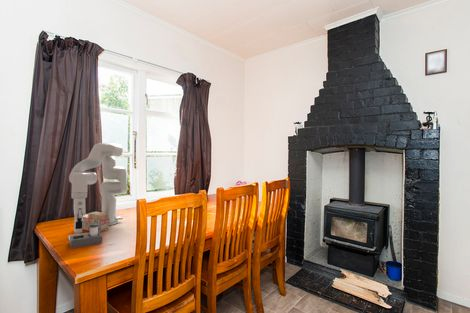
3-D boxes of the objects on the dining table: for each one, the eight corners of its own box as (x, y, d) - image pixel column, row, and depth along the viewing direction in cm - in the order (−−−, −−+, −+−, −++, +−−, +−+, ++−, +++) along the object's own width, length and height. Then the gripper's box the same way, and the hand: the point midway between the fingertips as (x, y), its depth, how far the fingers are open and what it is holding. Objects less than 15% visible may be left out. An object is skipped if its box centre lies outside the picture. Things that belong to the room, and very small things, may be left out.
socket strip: (99, 240, 150) (99, 231, 150) (102, 245, 143) (102, 235, 143) (69, 245, 141) (69, 235, 141) (70, 250, 134) (71, 240, 133)
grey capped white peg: (97, 239, 147) (97, 223, 147) (98, 242, 143) (98, 224, 143) (88, 241, 144) (89, 224, 144) (89, 243, 141) (90, 226, 141)
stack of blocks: (78, 229, 170) (79, 211, 170) (87, 227, 176) (87, 209, 176) (100, 234, 162) (100, 215, 162) (108, 231, 167) (109, 213, 167)
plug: (82, 230, 142) (83, 213, 142) (83, 232, 139) (83, 214, 139) (73, 231, 139) (73, 213, 139) (73, 233, 136) (74, 215, 136)
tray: (88, 235, 158) (88, 232, 158) (90, 240, 151) (90, 236, 151) (68, 238, 151) (68, 235, 151) (69, 243, 144) (69, 240, 144)
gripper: (89, 196, 135) (88, 230, 135) (85, 192, 148) (84, 223, 148) (72, 197, 130) (71, 232, 130) (70, 193, 143) (69, 225, 143)
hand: (78, 227), depth 139 cm, fingers closed on plug, 4 cm apart
